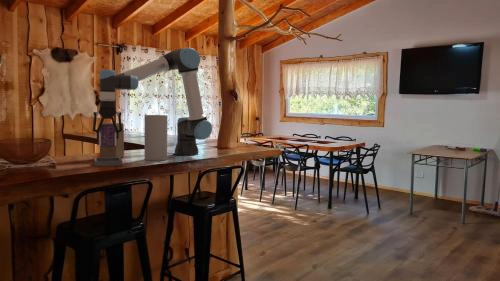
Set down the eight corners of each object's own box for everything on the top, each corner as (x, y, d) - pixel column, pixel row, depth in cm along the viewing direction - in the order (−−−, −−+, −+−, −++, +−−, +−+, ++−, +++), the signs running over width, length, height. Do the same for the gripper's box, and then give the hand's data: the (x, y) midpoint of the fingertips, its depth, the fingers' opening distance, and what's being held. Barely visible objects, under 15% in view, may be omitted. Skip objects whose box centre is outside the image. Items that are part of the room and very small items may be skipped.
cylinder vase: (152, 162, 219) (152, 116, 216) (140, 159, 227) (140, 115, 225) (171, 159, 228) (171, 115, 225) (158, 157, 236) (158, 114, 234)
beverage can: (103, 146, 210) (103, 123, 209) (116, 146, 210) (116, 123, 209) (97, 147, 203) (97, 124, 202) (111, 148, 203) (111, 124, 202)
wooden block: (115, 159, 222) (115, 123, 220) (99, 159, 224) (98, 123, 222) (124, 157, 232) (124, 123, 230) (108, 156, 234) (108, 122, 232)
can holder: (120, 161, 216) (120, 157, 216) (122, 165, 204) (122, 160, 204) (94, 162, 211) (94, 157, 211) (94, 166, 199) (94, 161, 199)
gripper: (127, 100, 212) (127, 144, 214) (86, 99, 204) (87, 144, 206) (128, 101, 205) (128, 145, 207) (86, 99, 197) (86, 146, 199)
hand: (107, 145), depth 207 cm, fingers closed on beverage can, 7 cm apart
